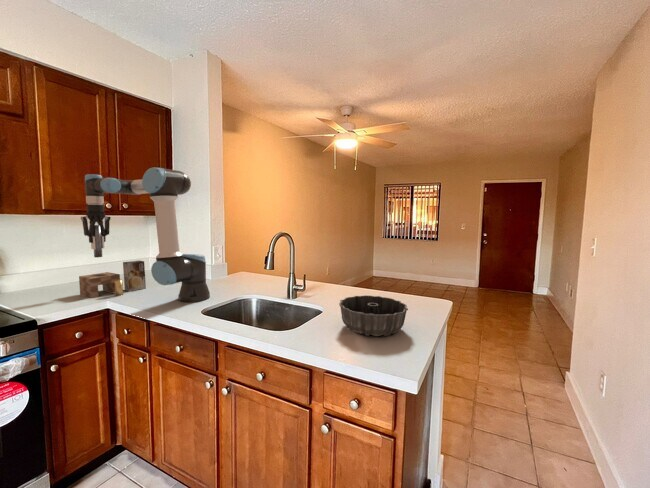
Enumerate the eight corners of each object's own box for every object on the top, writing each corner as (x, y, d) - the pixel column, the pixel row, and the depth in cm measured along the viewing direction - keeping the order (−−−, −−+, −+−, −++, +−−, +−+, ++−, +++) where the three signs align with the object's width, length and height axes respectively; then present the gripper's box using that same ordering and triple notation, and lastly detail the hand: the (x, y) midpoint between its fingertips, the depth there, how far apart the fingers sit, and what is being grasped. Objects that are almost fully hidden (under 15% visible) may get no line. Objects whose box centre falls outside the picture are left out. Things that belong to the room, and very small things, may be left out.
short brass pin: (124, 294, 167) (123, 280, 166) (117, 296, 163) (116, 281, 163) (120, 293, 168) (120, 279, 167) (113, 295, 165) (112, 280, 164)
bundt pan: (396, 317, 136) (397, 294, 135) (416, 342, 110) (417, 314, 109) (336, 317, 135) (336, 294, 134) (341, 342, 109) (342, 314, 108)
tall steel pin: (103, 256, 167) (102, 225, 166) (96, 257, 164) (94, 225, 163) (100, 256, 169) (98, 225, 167) (92, 257, 166) (90, 225, 164)
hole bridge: (120, 292, 172) (119, 274, 171) (92, 297, 160) (90, 278, 159) (108, 289, 178) (107, 272, 177) (80, 294, 165) (78, 276, 164)
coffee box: (141, 286, 185) (140, 260, 183) (146, 288, 181) (144, 261, 179) (124, 289, 177) (122, 261, 176) (128, 291, 174) (127, 263, 172)
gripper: (108, 204, 173) (110, 246, 175) (73, 203, 158) (76, 249, 161) (116, 204, 169) (118, 247, 172) (80, 203, 155) (83, 250, 157)
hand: (97, 248), depth 166 cm, fingers closed on tall steel pin, 3 cm apart
